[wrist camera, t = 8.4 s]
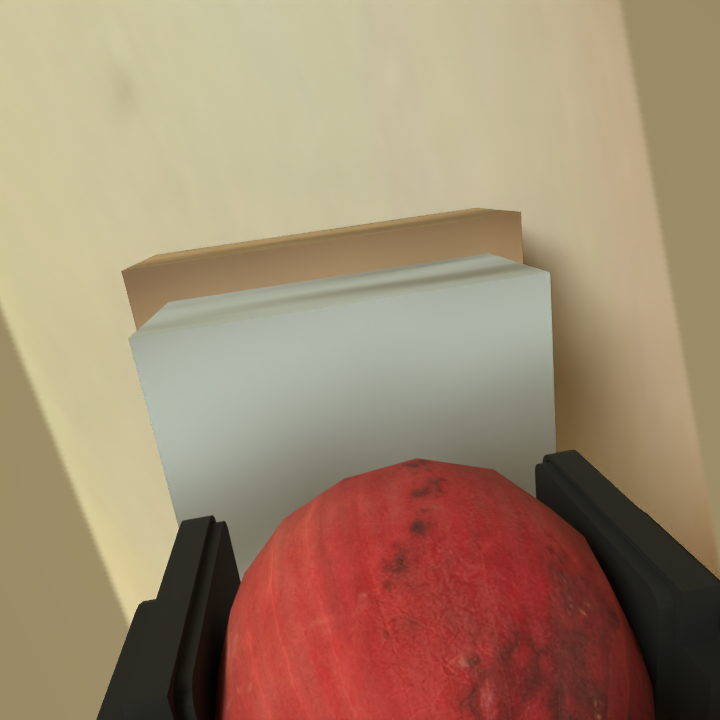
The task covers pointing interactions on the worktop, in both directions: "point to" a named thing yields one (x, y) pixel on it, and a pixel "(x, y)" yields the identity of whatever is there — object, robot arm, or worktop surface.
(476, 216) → the wood and metal block
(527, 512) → the onion
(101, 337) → the worktop surface
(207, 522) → the robot arm
